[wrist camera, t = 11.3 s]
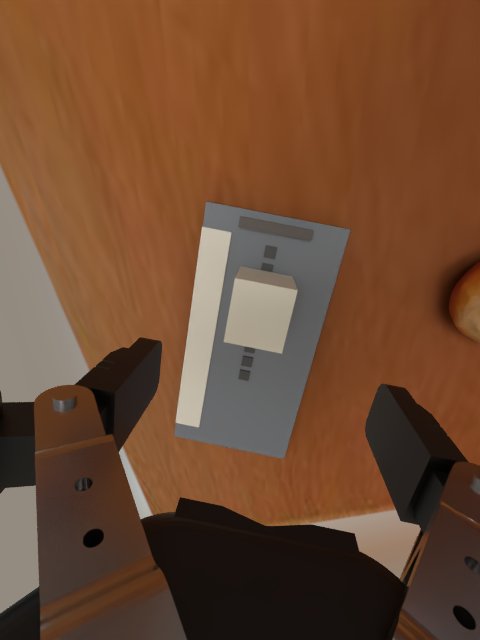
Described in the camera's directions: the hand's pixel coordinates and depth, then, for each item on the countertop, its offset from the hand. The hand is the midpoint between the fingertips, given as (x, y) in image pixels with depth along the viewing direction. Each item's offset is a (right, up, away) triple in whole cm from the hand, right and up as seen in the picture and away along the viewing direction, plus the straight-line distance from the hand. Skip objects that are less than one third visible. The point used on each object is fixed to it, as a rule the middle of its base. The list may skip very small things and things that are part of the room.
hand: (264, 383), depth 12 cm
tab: (+1, +4, +16) cm, 17 cm away
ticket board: (0, 0, +20) cm, 20 cm away
